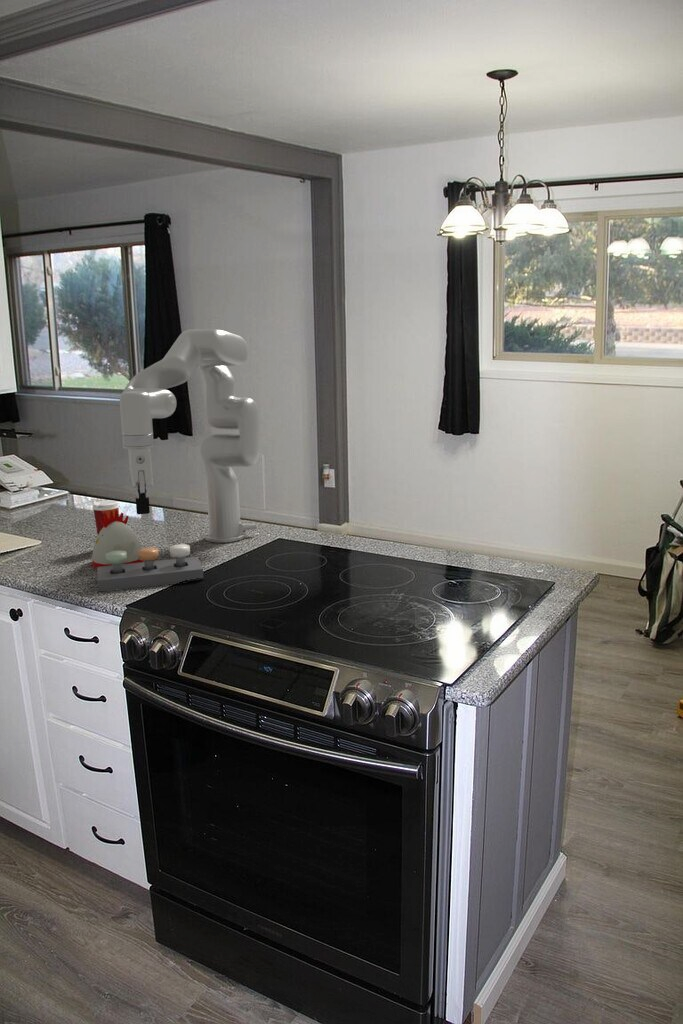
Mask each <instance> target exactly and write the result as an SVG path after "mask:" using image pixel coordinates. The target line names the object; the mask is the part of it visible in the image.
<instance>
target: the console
mask: <svg viewBox="0 0 683 1024" xmlns="http://www.w3.org/2000/svg"><path fill="white" fill-rule="evenodd" d="M185 564H186V565H185V566H183V567H177V566H176V558H172V559H170V558H169V559H162V560H160V559H159V560H154V569H153V570H145V565H144V562H141V563H132V564H122V571H123V572H122V573H117V574H114V573H113V568H112V566H103V567H97V568H96V569H97V570H96V571H97V572H96V573H97V574H96V575H97V587H98V592H99V591H103V592H108V591H107V590H112V591H117V590H116V589H121V590H128V588H130V589H137V588H139V589H140V588H145V587H155V586H165V585H172V584H179V583H178V582H182V581H185V580H190V579H196V578H204V568H203V566H202V563H201V561H200V558H199V556H191V557H189V556H188V557H185Z"/></svg>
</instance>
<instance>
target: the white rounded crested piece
mask: <svg viewBox="0 0 683 1024" xmlns="http://www.w3.org/2000/svg"><path fill="white" fill-rule="evenodd" d="M99 520H100V521H101V523H102V525H103V526H104V527H103V528H102V530H101V531H100V532H99V534H97V536H96V538H95V541H94V545H93V550H92V554H91V563H92V567H93V568H95V569H97V567H103V566H112V564H108V563H106V555H105V554H106V553H108V552H111V551H126V553H127V561H126V562H123V563H122V564H132V563H141V562H144V561H143V560H139V559H138V550H139V549H142V548H143V547H142V544H141V542H140V540H139V537H138V536H137V534H136V533H135V532H134V530H133V529H132V528H131V527H130V526H129V525H128V521H129V516H128V515H126V517H125V519H124V512H121V513H119V514H118V511H117V510H115V516H113V512H112V511H111V510H110V517H109V519H108V517H107V515H106V513H105V512H104V520H102V519H101V518H99Z"/></svg>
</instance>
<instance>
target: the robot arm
mask: <svg viewBox="0 0 683 1024" xmlns="http://www.w3.org/2000/svg"><path fill="white" fill-rule="evenodd" d="M248 357H249V347H248V343H247V342H246V340H245V339H244V338H243V337H242V336H241V335H238V334H236V333H235V334H234V333H231V332H230V331H226V330H223V329H219V328H194V329H193V328H192V329H191V328H190V329H186V330H184V331H182V332H181V333H180V334H179V335H178V337H177V338H176V340H175V341H174V342H173V344H172V345H171V347H170V349H169V350H168V351H167V353H165V355H164V357H163V358H162V359H160V360H159V361H157V362H155V363H153V364H151V365H149V366H147V367H146V368H144V369H142V370H140V371H139V372H137V373H136V374H135V375H134V376H133V377H132V378H131V379H130V380H129V382H128V383H127V384H126V386H125V387H124V389H123V391H122V393H121V394H120V396H119V407H120V408H119V410H120V422H121V423H120V424H121V425H120V426H121V435H122V437H121V438H122V448H123V449H125V450H128V451H127V452H128V463H129V472H130V477H131V478H130V479H131V483H132V486H133V488H135V495H136V496H135V509H136V510H135V511H136V514H137V515H149V514H150V512H151V511H150V509H151V508H150V498H149V492H148V486H149V487H150V488H153V487H154V479H153V478H154V476H153V463H152V453H151V448H154V446H155V444H154V443H155V441H154V428H153V427H154V426H153V419H165V418H168V417H171V416H172V415H173V414H174V412H175V411H176V408H177V398H176V396H175V394H174V393H173V391H170V390H168V389H169V388H170V389H171V388H173V387H177V386H180V385H182V384H184V383H186V382H187V381H189V379H190V378H191V377H192V375H193V373H194V372H195V370H196V368H199V370H200V371H201V374H202V375H203V378H204V380H205V420H206V424H207V425H208V427H210V428H211V429H215V430H228V431H230V430H232V431H233V430H234V431H235V430H236V431H238V432H239V434H231V433H230V434H229V433H213V434H209V435H207V436H205V437H204V438H202V441H201V442H200V445H199V447H200V448H199V451H200V452H199V453H200V457H201V461H202V465H203V469H204V474H205V487H206V501H207V502H206V503H207V515H208V516H207V517H208V529H209V530H208V532H206V533H204V540H205V541H207V542H210V543H219V544H220V543H221V544H222V543H233V542H237V541H241V540H243V539H245V538H246V537H247V531H254V530H255V531H256V530H257V523H251V522H246V523H244V522H243V521H241V511H240V510H241V509H240V496H239V495H240V494H239V479H238V477H237V475H236V472H235V471H234V470H233V468H235V467H236V468H251V467H253V466H255V465H256V464H257V462H258V459H259V455H260V424H261V423H260V420H261V419H260V409H259V406H258V404H257V402H256V401H255V400H254V399H253V398H250V397H247V396H246V397H243V396H242V397H241V396H236V386H235V383H236V381H235V378H234V375H233V374H232V372H231V370H230V369H229V367H239V366H242V365H244V364H245V363H246V361H247V360H248Z"/></svg>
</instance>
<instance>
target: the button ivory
mask: <svg viewBox="0 0 683 1024" xmlns="http://www.w3.org/2000/svg"><path fill="white" fill-rule="evenodd" d="M189 555H191V547H190V545H189V544H186V543H184V544H183V543H180V544H174V545H171V546H169V557H172V558H175V559H176V566H177V567H183V566H185V565H186V564H185V558H186V557H187V556H188V557H189Z"/></svg>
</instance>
